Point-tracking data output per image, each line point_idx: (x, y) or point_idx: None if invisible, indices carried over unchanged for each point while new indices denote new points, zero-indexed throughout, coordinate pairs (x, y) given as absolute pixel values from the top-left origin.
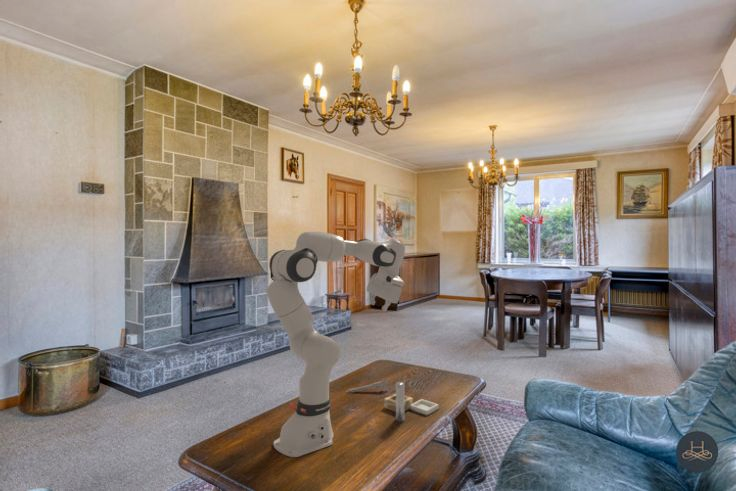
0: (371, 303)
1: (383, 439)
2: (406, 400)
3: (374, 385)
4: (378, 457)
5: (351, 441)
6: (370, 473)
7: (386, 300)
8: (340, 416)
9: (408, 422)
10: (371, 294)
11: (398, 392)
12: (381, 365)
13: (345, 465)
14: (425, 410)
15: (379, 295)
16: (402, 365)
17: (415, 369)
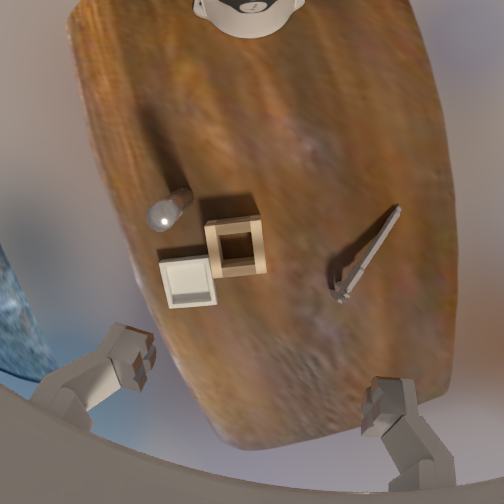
0: (380, 382)
1: (140, 106)
2: (211, 255)
3: (356, 270)
4: (101, 62)
5: (178, 49)
6: (80, 30)
7: (46, 410)
8: (295, 97)
9: None
10: (437, 476)
11: (160, 200)
12: (436, 374)
13: (123, 6)
14: (162, 263)
15: (184, 488)
16: None
17: None
